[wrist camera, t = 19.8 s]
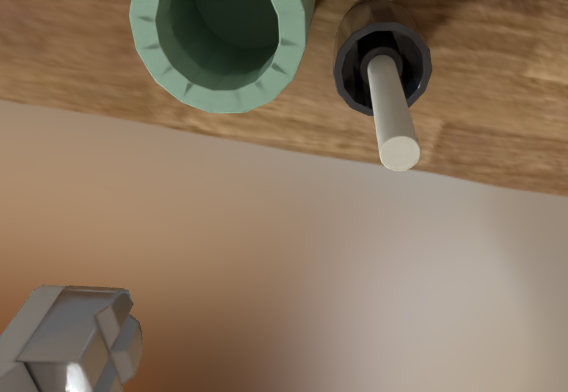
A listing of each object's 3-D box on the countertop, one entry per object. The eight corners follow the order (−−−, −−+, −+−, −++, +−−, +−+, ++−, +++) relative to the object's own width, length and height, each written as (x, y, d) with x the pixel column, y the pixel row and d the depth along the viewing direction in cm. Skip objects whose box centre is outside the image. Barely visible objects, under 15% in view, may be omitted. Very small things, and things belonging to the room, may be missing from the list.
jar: (179, -81, 34) (111, -65, 24) (314, -88, 33) (303, -75, 23) (198, 53, 39) (149, 114, 29) (316, 50, 38) (308, 112, 28)
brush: (357, 27, 36) (369, 125, 21) (397, 26, 35) (436, 124, 21) (356, 65, 37) (367, 180, 23) (394, 65, 37) (429, 181, 23)
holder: (334, 0, 36) (333, 24, 30) (421, -3, 35) (437, 20, 29) (334, 80, 39) (333, 116, 33) (413, 79, 38) (427, 115, 32)
